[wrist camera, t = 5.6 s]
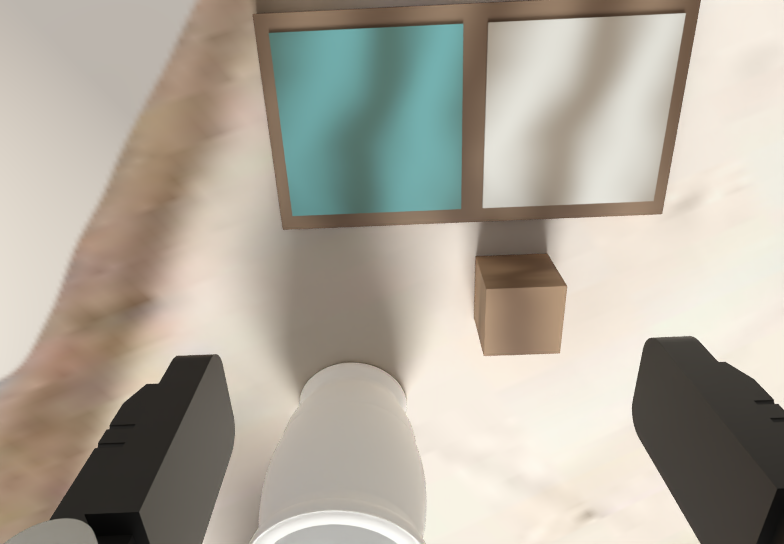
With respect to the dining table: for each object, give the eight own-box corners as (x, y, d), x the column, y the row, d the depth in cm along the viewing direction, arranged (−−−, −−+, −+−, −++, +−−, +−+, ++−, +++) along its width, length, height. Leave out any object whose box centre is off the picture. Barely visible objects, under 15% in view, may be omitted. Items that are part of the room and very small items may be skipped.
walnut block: (546, 253, 39) (567, 286, 34) (541, 314, 41) (559, 353, 37) (475, 255, 39) (486, 289, 34) (473, 317, 41) (483, 356, 37)
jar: (418, 346, 42) (431, 509, 29) (420, 449, 47) (432, 631, 33) (279, 351, 42) (227, 515, 29) (295, 453, 47) (256, 636, 33)
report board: (693, -8, 32) (704, -8, 30) (655, 208, 37) (663, 215, 36) (256, 13, 32) (251, 14, 31) (285, 224, 38) (282, 230, 37)
